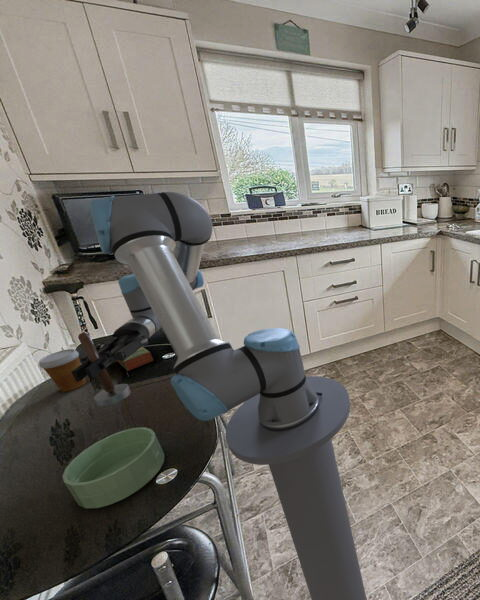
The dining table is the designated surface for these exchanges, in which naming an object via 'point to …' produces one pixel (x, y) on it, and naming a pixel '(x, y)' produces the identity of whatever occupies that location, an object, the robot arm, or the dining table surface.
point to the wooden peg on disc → (103, 377)
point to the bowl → (114, 467)
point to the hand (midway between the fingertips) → (82, 375)
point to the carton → (136, 359)
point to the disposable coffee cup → (63, 368)
